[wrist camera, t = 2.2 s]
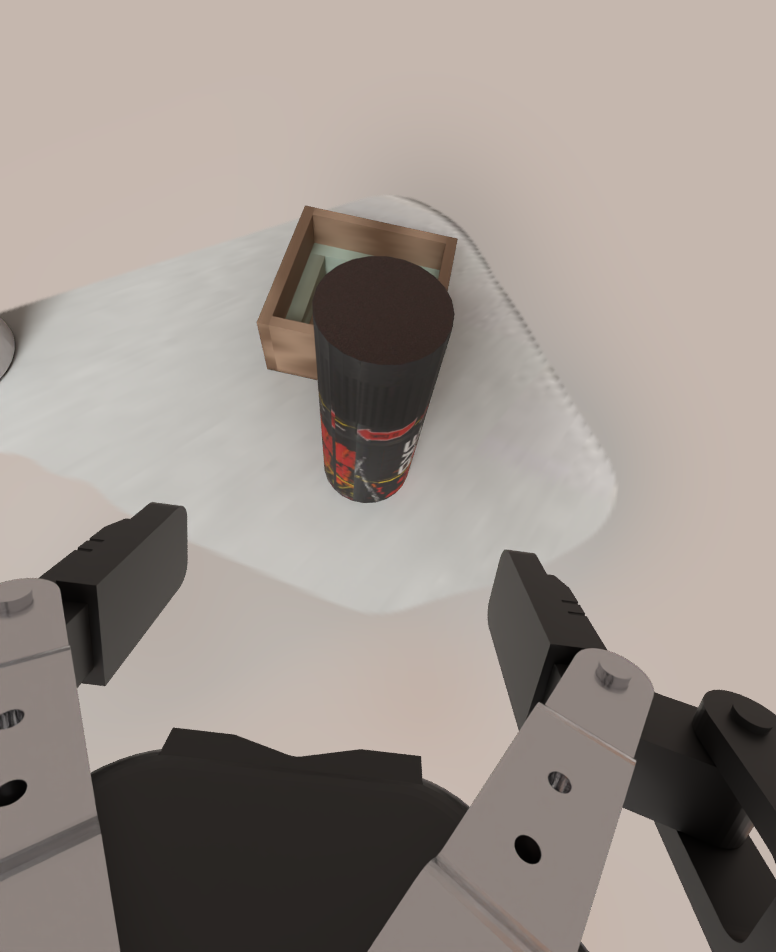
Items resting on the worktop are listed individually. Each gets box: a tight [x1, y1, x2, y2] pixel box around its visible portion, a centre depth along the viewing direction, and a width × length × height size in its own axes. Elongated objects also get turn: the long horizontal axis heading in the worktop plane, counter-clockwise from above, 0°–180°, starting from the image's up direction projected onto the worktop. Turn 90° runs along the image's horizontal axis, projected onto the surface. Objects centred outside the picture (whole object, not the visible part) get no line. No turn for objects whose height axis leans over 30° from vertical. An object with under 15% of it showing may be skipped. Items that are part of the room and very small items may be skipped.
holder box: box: [257, 206, 457, 380], centre depth 36 cm, size 12×12×5 cm
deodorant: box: [312, 256, 454, 503], centre depth 26 cm, size 6×6×15 cm
